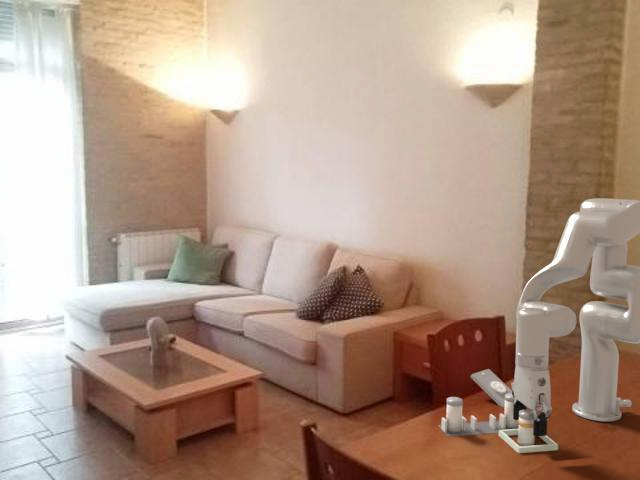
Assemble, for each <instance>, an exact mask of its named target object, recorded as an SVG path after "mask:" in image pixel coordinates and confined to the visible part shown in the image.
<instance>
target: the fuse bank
mask: <svg viewBox="0 0 640 480" xmlns="http://www.w3.org/2000/svg"><path fill="white" fill-rule="evenodd" d="M463 403H464V400H463V399H462V398H461V397H457V396H450V397H447V398H446V415H445V417H441V424H437V426H438V427H439V429H440V430H441V431H442V432H443V433H444V434H445V435H446V437H450V438H451V437H460V436H473V435H487V434H499V430H507V429H518V428H519V420H514V419H513V409H514V403H513V395H512V393H508V394H505V408H504V412H503V413H504V414H503V413H499V420H497V417H496V415H493V414H492V413H491V414H489V420H488V421H479V422H478V418H477V417H475V416H474V415H470V422H468V421H467V419H466V417H464V416H463Z"/></svg>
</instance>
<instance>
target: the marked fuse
mask: <svg viewBox="0 0 640 480" xmlns="http://www.w3.org/2000/svg"><path fill="white" fill-rule="evenodd" d="M534 420H536V419H535V416H534V413H533V410H531V409H526V410H520V411H519V428H518V435H517V444H520V445H523V446H533V445H535V441H536V440H535V439H536V437H535V436H534V435H533V425H534Z"/></svg>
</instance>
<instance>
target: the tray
mask: <svg viewBox="0 0 640 480" xmlns="http://www.w3.org/2000/svg"><path fill="white" fill-rule="evenodd" d="M510 436H518V429H507V430H499V433H498V437H500V438H501V439H502V440H503V441H504V442H505V443H506V444H508V445H509V446H510V447H511V448H512V449H513V450H514V451H515V452H517V454H525V453H538V452H549V451H550V452H551V451H559V444H558V442H555V441H554V440H553V439H552V438H551V437H549V436H548V435H546V436H538V438H540V439H541V440H542V441H544V442H545V443H546V444H536V445H535V444H534V445H531V446H527V445H523V446H521V445H519V443H517V442H515V440H513V439H512V438H511V437H510Z"/></svg>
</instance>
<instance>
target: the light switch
mask: <svg viewBox="0 0 640 480" xmlns="http://www.w3.org/2000/svg"><path fill="white" fill-rule="evenodd" d="M470 379H471V380H473V381H474V382H475V384H476V385H478V386H479V387H480V388H481V389H482V391H484V392H485V394H487V395H488V396H489V397H490V398H491V399H492V400H493V401H494V403H496V404H497V405H498V406H499V407H501V408H504V409H505V394H508V393H512V391H513V390H512V388H510V387H509V386H508V385H507V384H506V383H504V382H503V381H502V379H500V377H498V376H497V374H496V373H494V372H493V371H492V370H491V369H489V368H487V369H484V370H481V371H477V372H475V373H472V374H471V375H470Z"/></svg>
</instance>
